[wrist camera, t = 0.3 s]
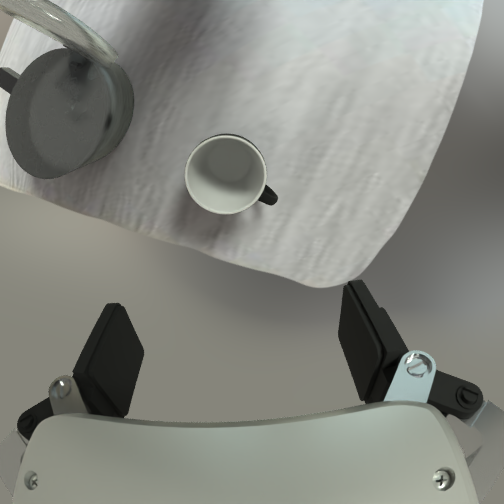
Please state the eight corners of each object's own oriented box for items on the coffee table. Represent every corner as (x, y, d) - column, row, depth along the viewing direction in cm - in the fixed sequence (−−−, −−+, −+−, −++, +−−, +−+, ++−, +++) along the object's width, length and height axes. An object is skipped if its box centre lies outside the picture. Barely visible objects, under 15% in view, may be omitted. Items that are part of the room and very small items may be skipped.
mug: (185, 169, 39) (169, 188, 30) (220, 117, 36) (213, 118, 27) (253, 213, 42) (257, 243, 33) (290, 165, 39) (305, 182, 30)
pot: (56, 31, 25) (20, 22, 17) (156, 87, 33) (130, 81, 24) (12, 117, 31) (-26, 126, 22) (98, 182, 39) (65, 203, 30)
